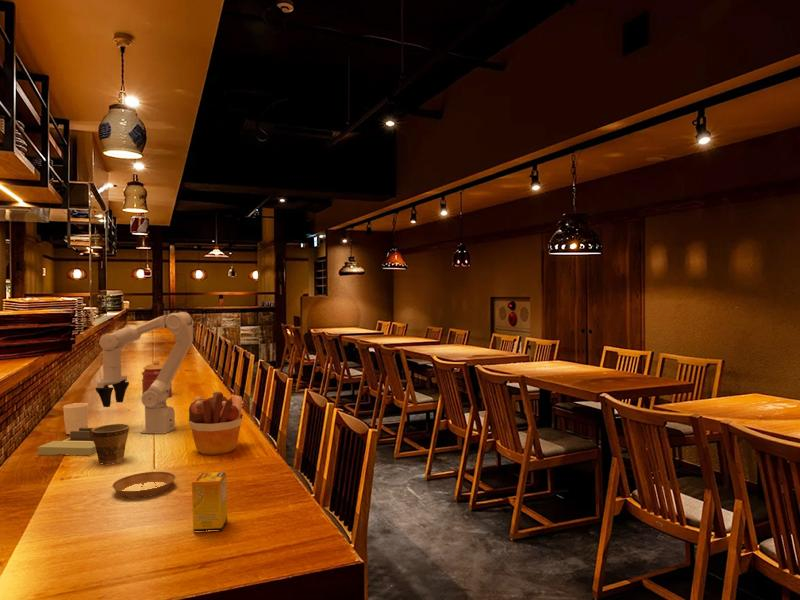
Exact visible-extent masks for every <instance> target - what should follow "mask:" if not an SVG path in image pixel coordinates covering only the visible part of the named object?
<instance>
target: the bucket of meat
mask: <svg viewBox="0 0 800 600" xmlns="http://www.w3.org/2000/svg"><path fill="white" fill-rule="evenodd" d="M242 407H243V397H242V395H237V394H231V396H230V398H227V397H226V396H224V394H223V392H220V391H217V390H216V391H213V392H212V396H211V397H208V398H207V399H206V398H205V399H204V398H202V397H201V396H198V395H197V396H196V397H195V398H194V401H193V402H192V403H190V405H189V408H188V417H189V418H188V424H189V427H190V429H191V434H192V438H193V441H194V445H195V449H196V451H198V452H199V453H200V454H202V455H204V456H218V455H219V456H220V455H224V454H225V455H226V454H229V453H231V452H233V451H234V450H235V449H236V448H237V445H238V440H239V435H240V429H241V425H242V420H243V413H242V410H243V409H242Z"/></svg>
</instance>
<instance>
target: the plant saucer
mask: <svg viewBox="0 0 800 600" xmlns="http://www.w3.org/2000/svg"><path fill="white" fill-rule="evenodd" d="M176 478H177V477H176V475H175V474H174V473H172V472H168V471H147V472H140V473H135V474H130V475H126V476H124V477H121V478H119V479H117V480H116V481H114V482H113V484H112V486H111V487H112V489H113V490H114V491H116V492H117V493H118V494H119V495H121V496H122V497H124V496H125V498H129V497H140V498H145V497H144V496H147V497H151V496H150V495H152V496H155V495H154V494H156V495H158V493H159V494H161V493H163V492H164V490H165V491H166V490H167V489H168V488H169V487H170V486H171V485H172V484H173V483H174V481H175V480H176ZM147 482H154V483H155V482H164V483H166V484H165V485H163V486H160V487H157V486H155V487H157V488H152V489H147V490H140V491H122V490H124V489H125V488H127V487H129V486H132V485H134V484H140V483H141V484H142V485H144V483H147ZM155 484H156V483H155ZM141 487H143V486H141ZM162 491H163V492H162ZM160 492H161V493H160Z"/></svg>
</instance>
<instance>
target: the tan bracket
mask: <svg viewBox="0 0 800 600" xmlns="http://www.w3.org/2000/svg"><path fill="white" fill-rule="evenodd" d="M95 453H97V451H96V447H95V444H94V441H70V437H68V438H66V439H63V440H52V441H50V442H47V443H44V444H42V445H40V446H37V455H38V456H55V455H54V454H68V455H93V454H95ZM95 455H96V454H95ZM93 456H94V455H93Z"/></svg>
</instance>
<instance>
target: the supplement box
mask: <svg viewBox="0 0 800 600" xmlns="http://www.w3.org/2000/svg"><path fill="white" fill-rule="evenodd" d="M191 488H192V489H191V491H192V497H191V498H192V528H193V532H194V531H206V530H207V531H208V530H222V531H223V529H224V527H225V525H226V523H227V522H226V521H228V501H227V499H228V498H227V497H228V494H227V472H226V471H216V472H215V471H214V472H213V471H212V472H199V473H198V474H197V476H196V477H195V478H194V479H193V480H192V481H191ZM223 526H224V527H223ZM222 528H223V529H222Z"/></svg>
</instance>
